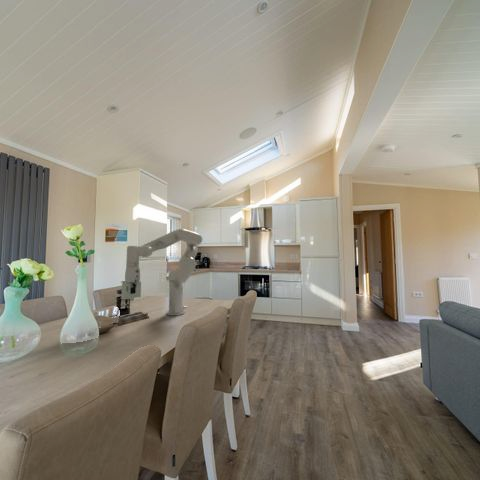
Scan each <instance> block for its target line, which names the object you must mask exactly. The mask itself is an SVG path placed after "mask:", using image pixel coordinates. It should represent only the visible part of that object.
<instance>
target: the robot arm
mask: <svg viewBox="0 0 480 480" xmlns="http://www.w3.org/2000/svg"><path fill="white" fill-rule="evenodd" d="M181 241H183V242H185V244H186V249H185V251H184V253H183V254H182V255H181V257H180V259H179V260H178V268H174V269H172V270H170V271H169V274H168V285H169V287H168V289H169V290H168V291H169V292H168V311H165V312H166V315H167V316H181V315H184V314H185V309H188V306H187V305H184V306H183V300H184V299H183V298H184V297H183V296H184V295H183V294H184V293H183V292H184V286H183V285H184V284H185V283H186V282H187V281H188V280H189V278H190V277H191V276H192V273H193V272H194V271H195V269H196V266H197V260H196V259H195V258H196V257H197V254H198V252H199V248H198V246H199V245H201V243H202V242H203V237H202V235H201V234H199V233H197V232H195V231H191V230H188V229H185V228H178V229H175V230H173V231H169V232H168V233H166V234H164V235H162V236H160V237H158V238H156V239H154V240H151V241H149V242H147V243H144V244H143V245H141V246H139V245H128V246H127V248H126V265H125V266H126V267H125V273H124V280H125V283H129V282H131V294H134V293H136V286H137V284H139V282H141V271H140V270H141V269H140V257H141V258H142V257H143V258H149V257H150V256H151V255H153V253H155V252H156V251H159V250H162V249H163V250H164V249H166V248H168V247H171V246H172V245H175V244H176V243H177V244H178V243H179V242H181ZM133 283H134V284H133Z"/></svg>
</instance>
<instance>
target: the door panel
mask: <svg viewBox="0 0 480 480" xmlns="http://www.w3.org/2000/svg"><path fill="white" fill-rule="evenodd" d="M133 284H134V283H133ZM121 289H122V294H121V295H120V296H121V299H123V300H124V301H125V299H128V300H129V299H130V300H131V299H135V298H141V296H142V295H141V294H142V293H141V292H142V281H140V282H139V284H137V286H136V293H134V294H131V282H129V283H123V282H121ZM123 300H122V301H123Z"/></svg>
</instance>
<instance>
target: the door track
mask: <svg viewBox="0 0 480 480" xmlns="http://www.w3.org/2000/svg"><path fill="white" fill-rule="evenodd" d="M146 319H150V316H149V313H148V312H143V311H141V310H140V311H136V312H130V314H127V315H122V316H120V317H119V319H118V322H117V323H116V324H115V325H118V326H123V325H127V324H130V323H135V322H139V321H143V320H146Z"/></svg>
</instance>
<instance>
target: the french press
mask: <svg viewBox="0 0 480 480" xmlns="http://www.w3.org/2000/svg"><path fill="white" fill-rule="evenodd" d="M121 283H125V281H121ZM116 294H117V295H119V296H116V299H115V300H116V306H115V308H116V307H118V308H119V310H120V316H122V315H127V314H131V312H130V311H131V309H130V308H131V307H130V306H131V299H125V300H123V299H121V296H122V288H121V289H116Z"/></svg>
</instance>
